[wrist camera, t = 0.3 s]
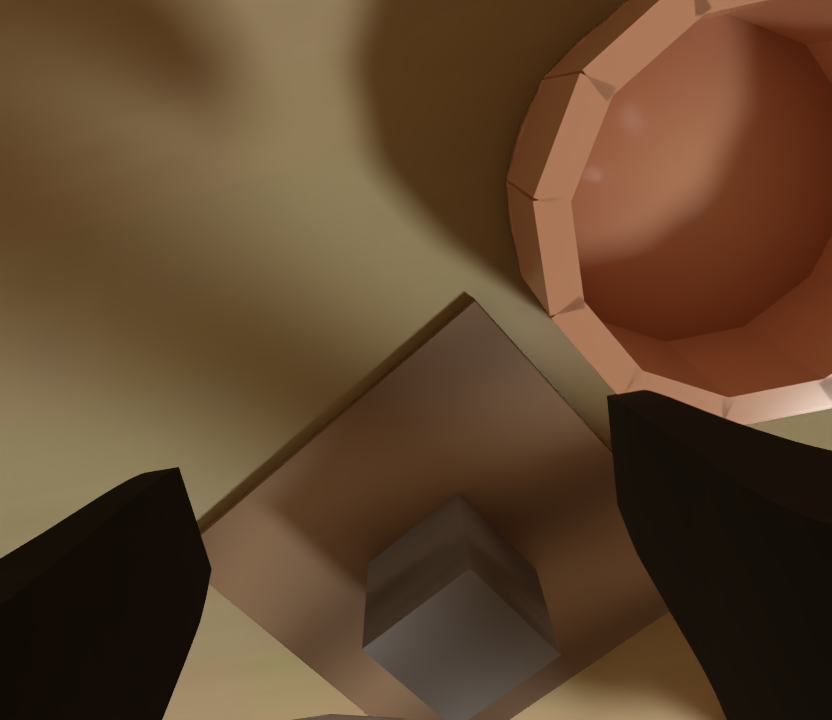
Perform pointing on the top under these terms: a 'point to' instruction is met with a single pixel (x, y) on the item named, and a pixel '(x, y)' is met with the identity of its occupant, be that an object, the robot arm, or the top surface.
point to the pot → (688, 202)
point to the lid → (441, 538)
